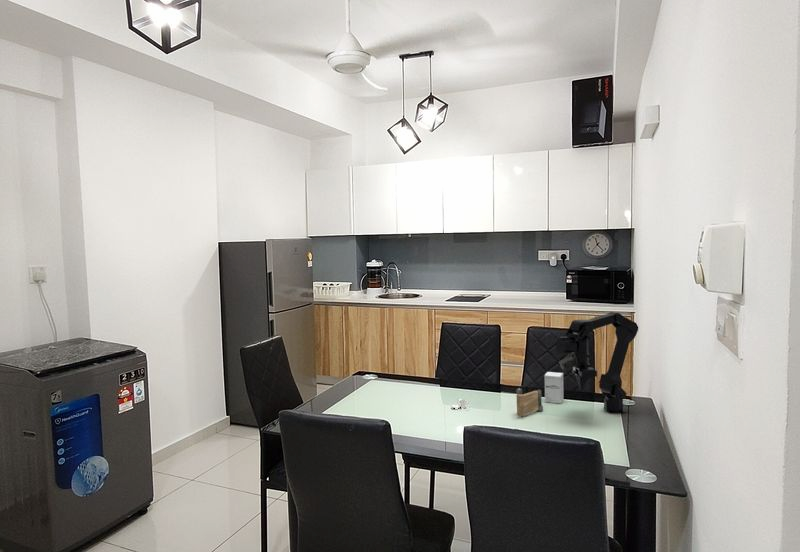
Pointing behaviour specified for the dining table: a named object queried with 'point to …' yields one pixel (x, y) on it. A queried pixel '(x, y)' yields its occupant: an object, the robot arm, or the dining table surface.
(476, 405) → the dining table surface
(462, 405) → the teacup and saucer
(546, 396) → the supplement box
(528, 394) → the wooden plank panel
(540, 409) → the hinge base
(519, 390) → the post
